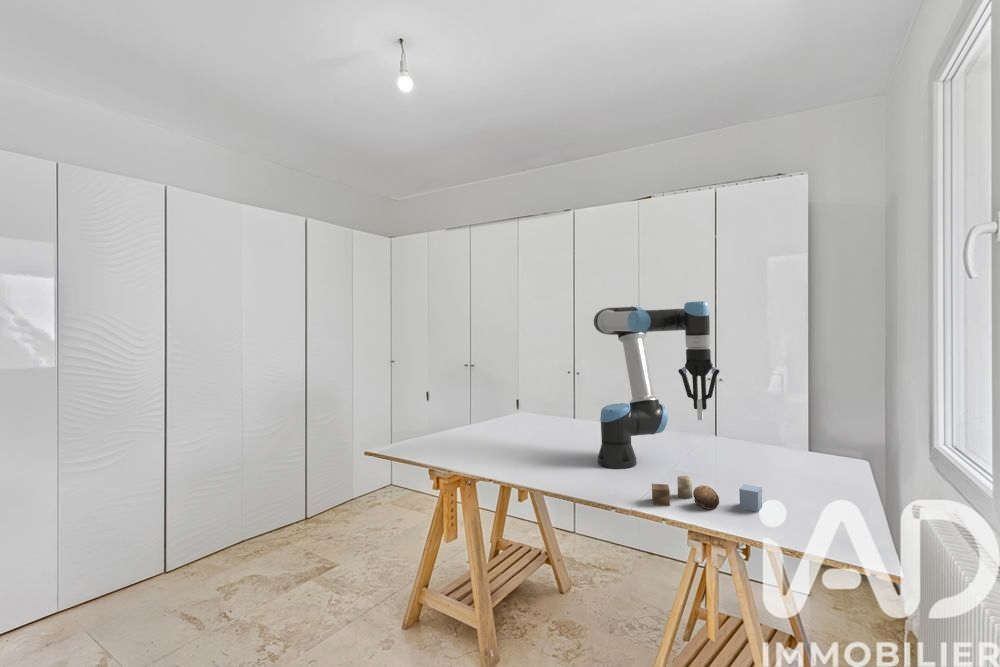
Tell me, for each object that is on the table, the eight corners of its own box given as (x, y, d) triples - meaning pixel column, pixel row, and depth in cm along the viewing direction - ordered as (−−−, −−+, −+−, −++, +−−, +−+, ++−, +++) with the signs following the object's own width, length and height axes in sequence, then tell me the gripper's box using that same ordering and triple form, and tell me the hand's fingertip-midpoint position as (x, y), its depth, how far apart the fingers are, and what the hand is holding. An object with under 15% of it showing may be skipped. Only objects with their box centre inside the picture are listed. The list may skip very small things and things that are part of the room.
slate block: (739, 508, 145) (739, 488, 145) (744, 503, 149) (743, 484, 149) (758, 512, 142) (757, 492, 142) (762, 507, 146) (761, 487, 145)
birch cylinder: (676, 497, 156) (676, 479, 155) (679, 493, 159) (678, 475, 159) (691, 499, 153) (690, 481, 153) (693, 495, 157) (692, 476, 157)
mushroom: (684, 490, 153) (695, 477, 149) (707, 498, 153) (718, 485, 150) (690, 511, 146) (702, 498, 143) (714, 519, 146) (726, 506, 143)
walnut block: (653, 505, 151) (652, 489, 150) (652, 499, 155) (651, 483, 155) (670, 506, 149) (669, 490, 149) (668, 500, 154) (668, 484, 154)
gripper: (675, 349, 160) (678, 420, 160) (718, 348, 154) (721, 422, 154) (679, 347, 167) (681, 416, 167) (720, 347, 160) (723, 418, 161)
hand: (700, 419), depth 161 cm, fingers closed
